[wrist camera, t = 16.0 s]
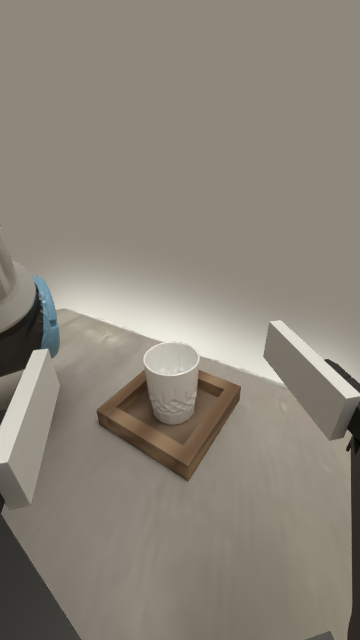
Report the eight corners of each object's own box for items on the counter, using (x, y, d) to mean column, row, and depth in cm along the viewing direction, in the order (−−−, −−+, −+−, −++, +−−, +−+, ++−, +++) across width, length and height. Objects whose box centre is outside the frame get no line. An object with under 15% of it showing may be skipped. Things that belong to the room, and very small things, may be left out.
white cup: (138, 407, 43) (132, 356, 38) (175, 383, 48) (173, 335, 43) (171, 438, 38) (168, 384, 33) (209, 408, 43) (211, 356, 38)
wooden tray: (99, 424, 41) (96, 410, 40) (162, 367, 53) (161, 355, 51) (188, 481, 33) (188, 466, 32) (239, 400, 45) (240, 386, 44)
